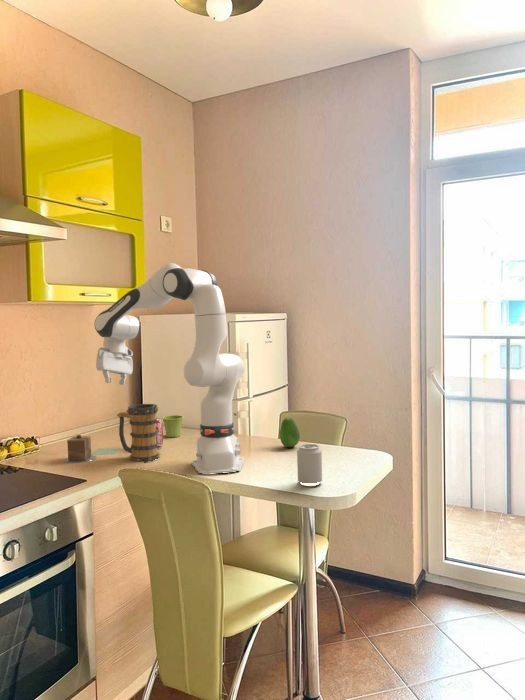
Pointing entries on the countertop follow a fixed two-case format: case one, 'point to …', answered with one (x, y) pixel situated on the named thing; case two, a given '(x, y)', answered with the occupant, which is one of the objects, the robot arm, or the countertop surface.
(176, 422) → the plant pot
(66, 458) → the slate board
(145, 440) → the mug
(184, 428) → the countertop surface
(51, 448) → the countertop surface
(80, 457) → the cover box
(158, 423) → the soda can
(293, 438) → the avocado
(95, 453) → the mat
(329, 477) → the countertop surface
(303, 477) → the can
